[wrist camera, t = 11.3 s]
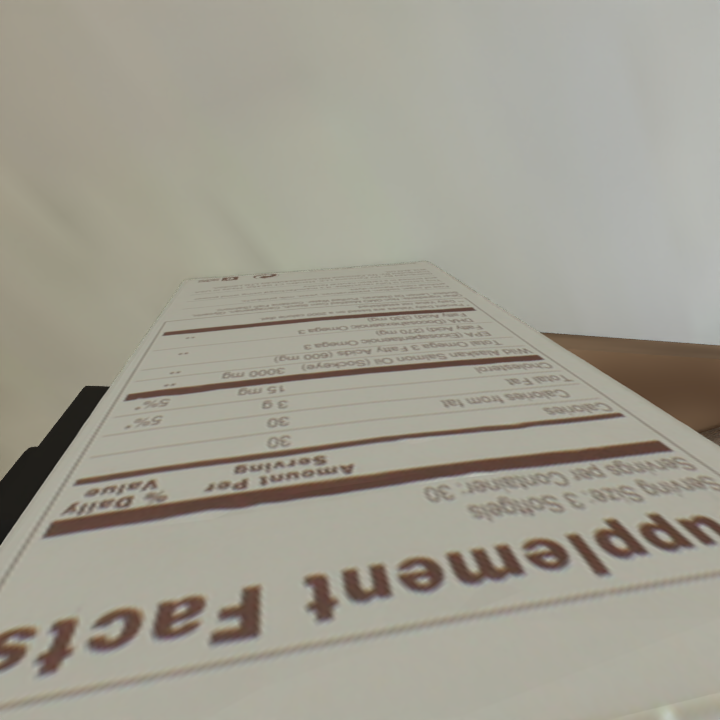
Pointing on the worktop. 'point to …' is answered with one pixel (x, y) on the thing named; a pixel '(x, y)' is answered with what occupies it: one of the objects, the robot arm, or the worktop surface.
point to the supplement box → (364, 522)
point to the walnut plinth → (658, 373)
